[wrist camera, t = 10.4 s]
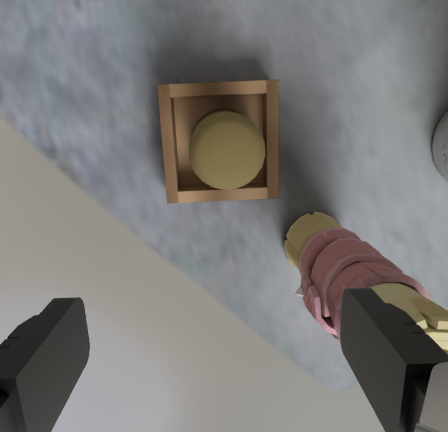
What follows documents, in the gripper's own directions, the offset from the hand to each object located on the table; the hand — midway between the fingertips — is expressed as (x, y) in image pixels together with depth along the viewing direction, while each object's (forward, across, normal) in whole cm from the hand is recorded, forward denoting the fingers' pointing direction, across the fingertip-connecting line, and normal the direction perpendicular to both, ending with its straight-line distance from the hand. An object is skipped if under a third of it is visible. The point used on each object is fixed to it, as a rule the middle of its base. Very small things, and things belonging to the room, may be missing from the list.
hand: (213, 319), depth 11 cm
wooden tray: (+25, -1, -4) cm, 25 cm away
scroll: (+25, -10, +7) cm, 28 cm away
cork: (+24, -1, -4) cm, 24 cm away
